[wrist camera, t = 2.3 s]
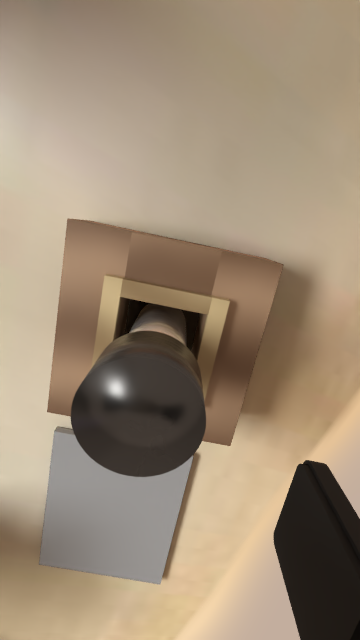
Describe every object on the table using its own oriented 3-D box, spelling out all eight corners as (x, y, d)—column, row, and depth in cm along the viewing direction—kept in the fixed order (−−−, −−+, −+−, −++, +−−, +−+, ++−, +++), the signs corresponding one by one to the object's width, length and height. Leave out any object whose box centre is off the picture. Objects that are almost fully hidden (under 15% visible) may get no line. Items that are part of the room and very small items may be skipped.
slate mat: (57, 426, 25) (54, 431, 25) (193, 451, 26) (193, 456, 25) (41, 557, 29) (38, 564, 28) (160, 577, 29) (160, 584, 29)
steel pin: (134, 284, 22) (79, 345, 11) (201, 298, 22) (220, 373, 11) (123, 348, 23) (63, 464, 12) (187, 361, 24) (190, 487, 12)
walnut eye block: (88, 220, 21) (63, 218, 17) (265, 258, 21) (286, 265, 17) (69, 382, 24) (43, 417, 20) (222, 412, 25) (231, 452, 20)
